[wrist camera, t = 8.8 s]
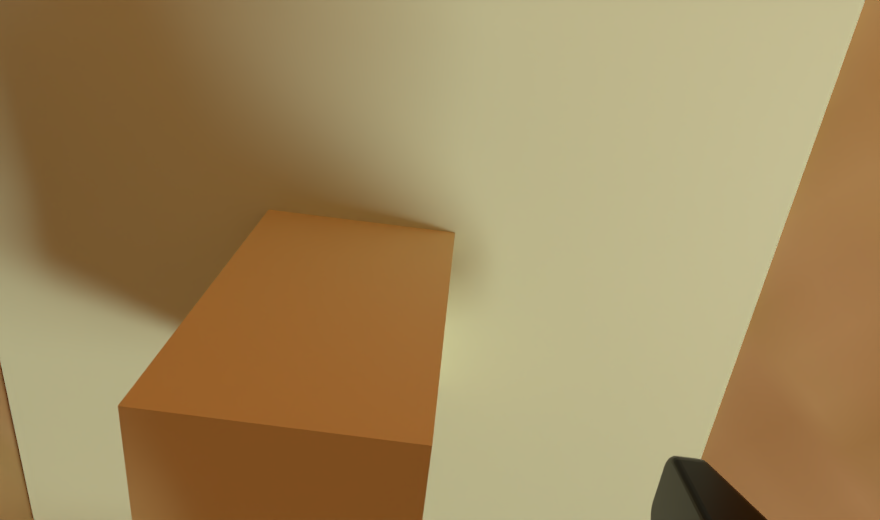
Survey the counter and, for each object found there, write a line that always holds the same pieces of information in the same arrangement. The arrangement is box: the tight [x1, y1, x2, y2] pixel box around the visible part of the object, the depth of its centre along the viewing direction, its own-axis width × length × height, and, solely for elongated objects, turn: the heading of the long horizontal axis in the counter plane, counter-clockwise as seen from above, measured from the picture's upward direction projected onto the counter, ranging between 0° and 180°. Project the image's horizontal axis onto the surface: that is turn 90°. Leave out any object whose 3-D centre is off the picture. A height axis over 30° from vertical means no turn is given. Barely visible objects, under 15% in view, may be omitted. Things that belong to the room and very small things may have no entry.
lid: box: [0, 0, 865, 520], centre depth 10 cm, size 13×13×6 cm
